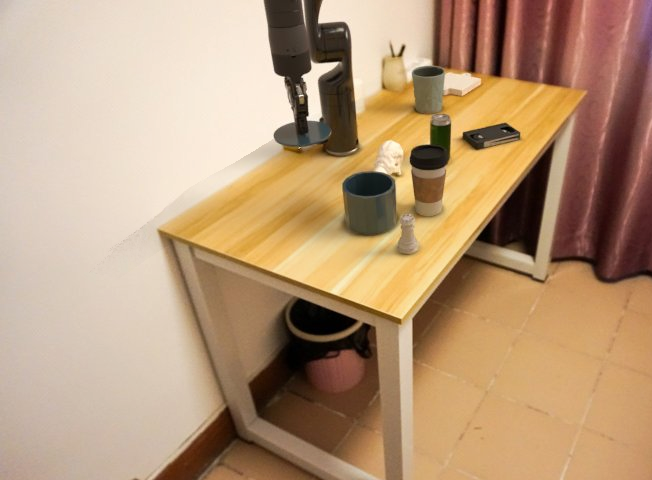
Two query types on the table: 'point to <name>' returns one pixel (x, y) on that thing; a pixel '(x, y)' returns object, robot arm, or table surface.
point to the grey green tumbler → (428, 88)
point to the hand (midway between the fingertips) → (302, 129)
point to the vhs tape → (491, 136)
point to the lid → (292, 138)
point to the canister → (370, 202)
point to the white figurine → (389, 158)
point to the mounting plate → (459, 83)
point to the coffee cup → (428, 177)
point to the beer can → (441, 131)
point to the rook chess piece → (407, 235)
